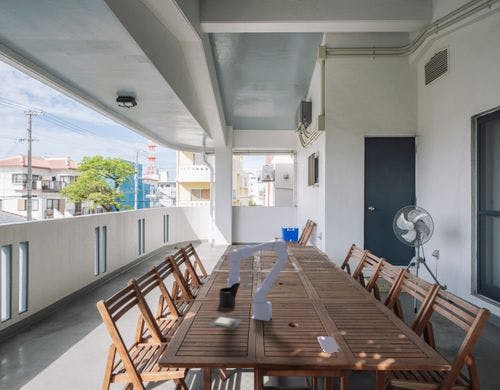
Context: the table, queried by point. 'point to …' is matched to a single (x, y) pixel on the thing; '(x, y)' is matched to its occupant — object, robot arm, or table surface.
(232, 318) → the mat
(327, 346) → the mobile phone
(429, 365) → the table surface
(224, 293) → the mug
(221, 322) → the tile
